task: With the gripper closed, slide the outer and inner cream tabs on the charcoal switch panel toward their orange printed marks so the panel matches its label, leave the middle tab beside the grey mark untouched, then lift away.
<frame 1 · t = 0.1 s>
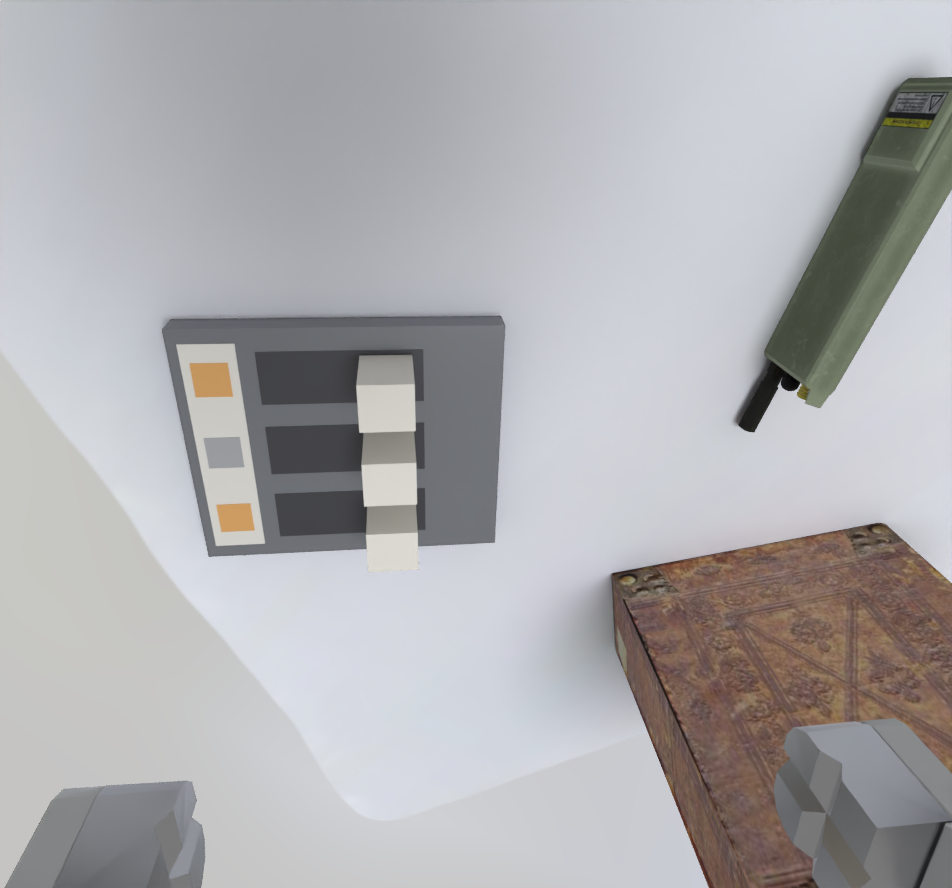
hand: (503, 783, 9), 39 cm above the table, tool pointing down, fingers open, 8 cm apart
switch panel: (348, 435, 49), on the table
handheld radio: (816, 270, 48), on the table
tab middle: (389, 465, 46), point 5 cm above the table, slide at 0.0 cm
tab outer: (392, 531, 48), point 5 cm above the table, slide at 0.0 cm
tab inner: (386, 392, 43), point 5 cm above the table, slide at 0.0 cm
book: (744, 585, 62), on the table
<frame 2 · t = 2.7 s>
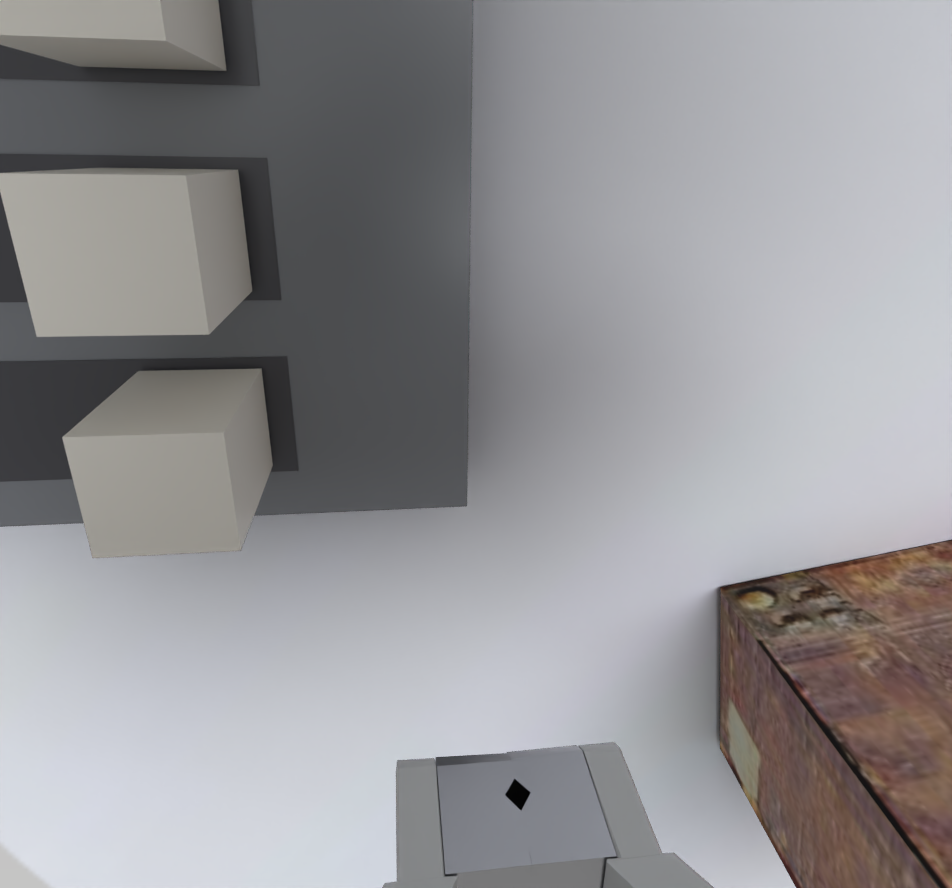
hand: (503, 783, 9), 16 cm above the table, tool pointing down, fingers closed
switch panel: (95, 223, 20), on the table
tab middle: (149, 243, 16), point 5 cm above the table, slide at 0.0 cm
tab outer: (185, 453, 18), point 5 cm above the table, slide at 0.0 cm
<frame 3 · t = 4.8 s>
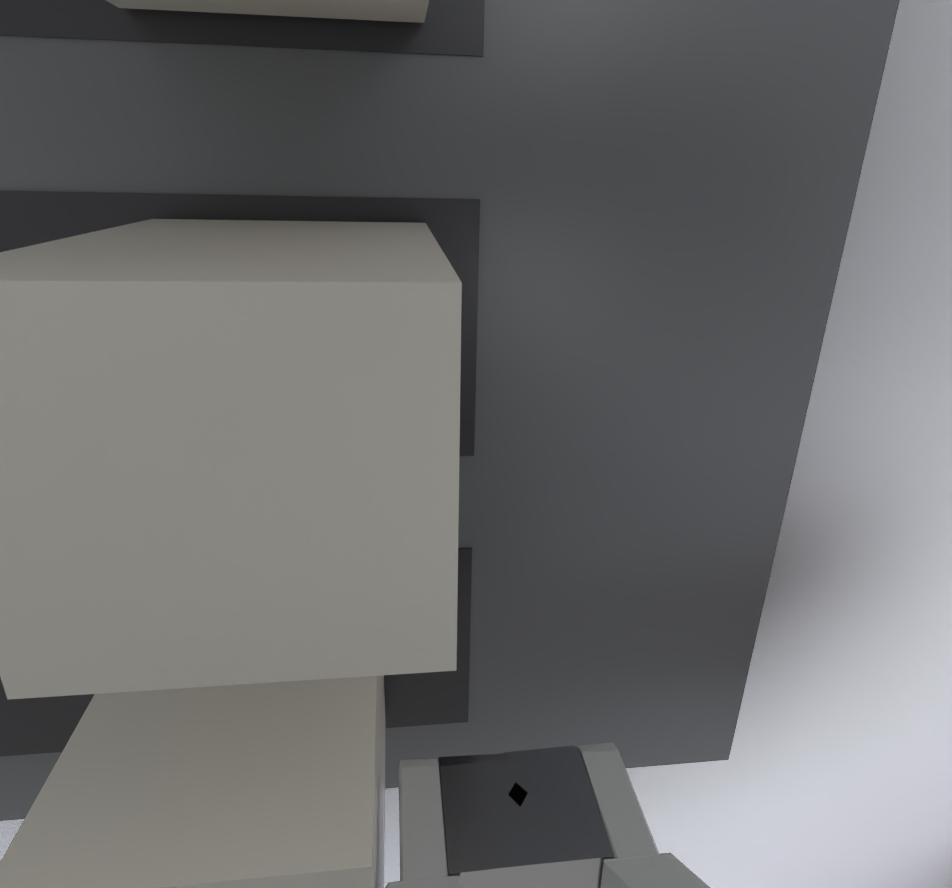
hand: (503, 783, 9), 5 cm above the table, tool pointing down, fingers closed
switch panel: (132, 309, 11), on the table
tab middle: (272, 397, 7), point 5 cm above the table, slide at 0.0 cm
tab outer: (251, 782, 9), point 5 cm above the table, slide at 0.8 cm, touching gripper
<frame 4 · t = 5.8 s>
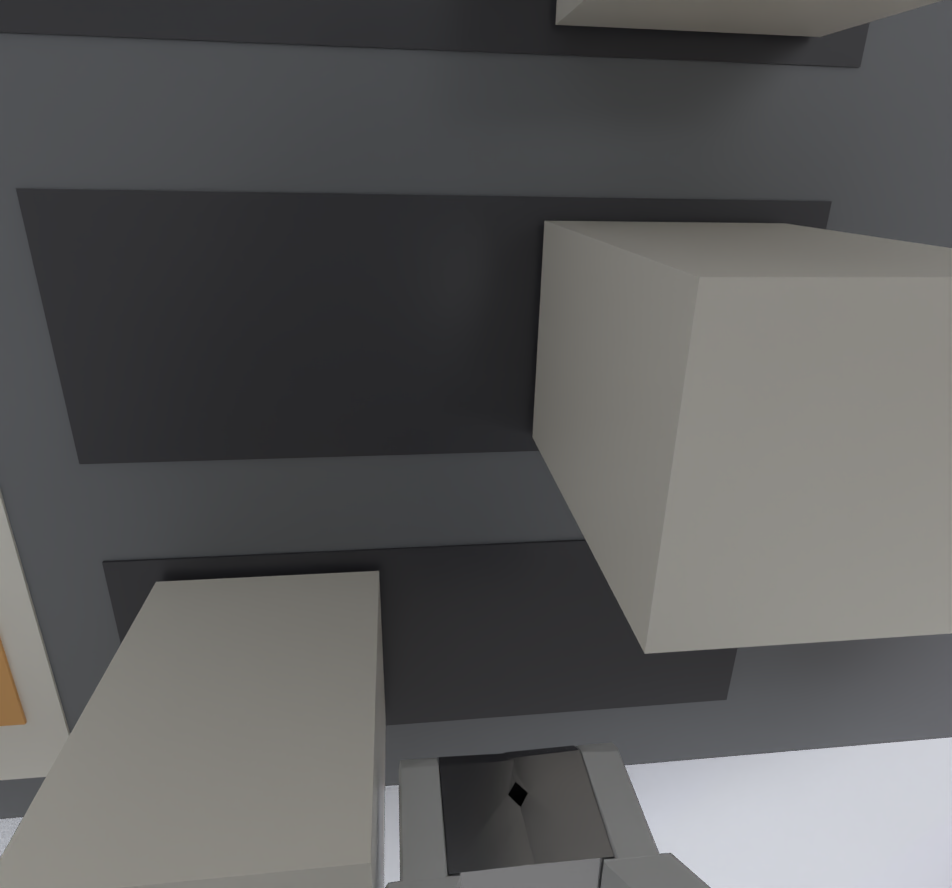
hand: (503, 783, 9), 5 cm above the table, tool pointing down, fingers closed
switch panel: (442, 306, 12), on the table
tab middle: (731, 385, 8), point 5 cm above the table, slide at 0.0 cm
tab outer: (250, 779, 9), point 5 cm above the table, slide at 5.9 cm, touching gripper
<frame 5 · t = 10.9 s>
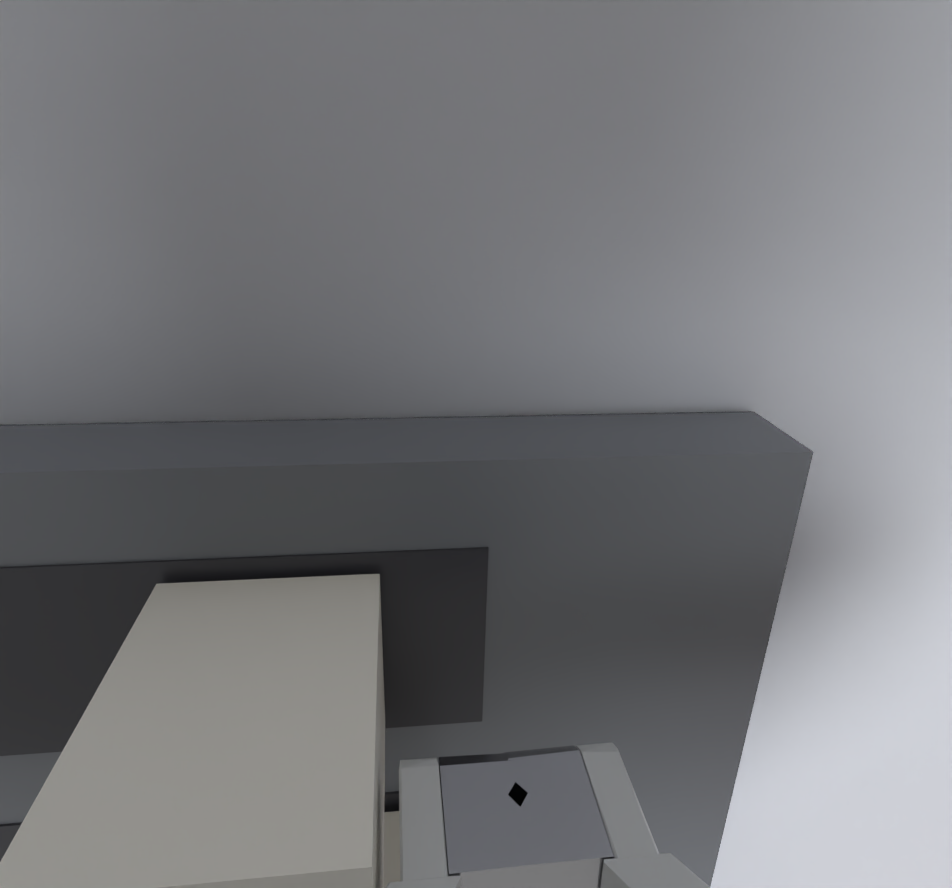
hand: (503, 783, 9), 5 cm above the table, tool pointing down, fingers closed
switch panel: (228, 790, 15), on the table
tab inner: (250, 782, 9), point 5 cm above the table, slide at 1.1 cm, touching gripper
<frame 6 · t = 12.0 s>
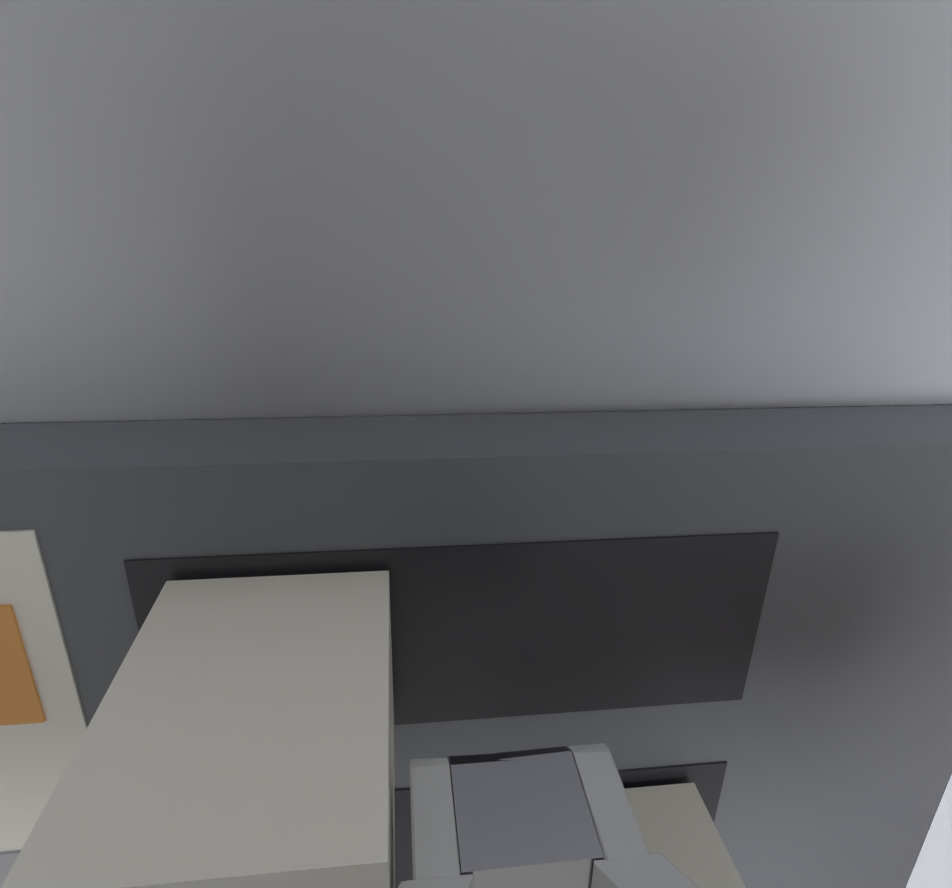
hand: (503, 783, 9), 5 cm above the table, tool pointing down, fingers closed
switch panel: (455, 769, 16), on the table
tab inner: (262, 778, 9), point 5 cm above the table, slide at 6.1 cm, touching gripper
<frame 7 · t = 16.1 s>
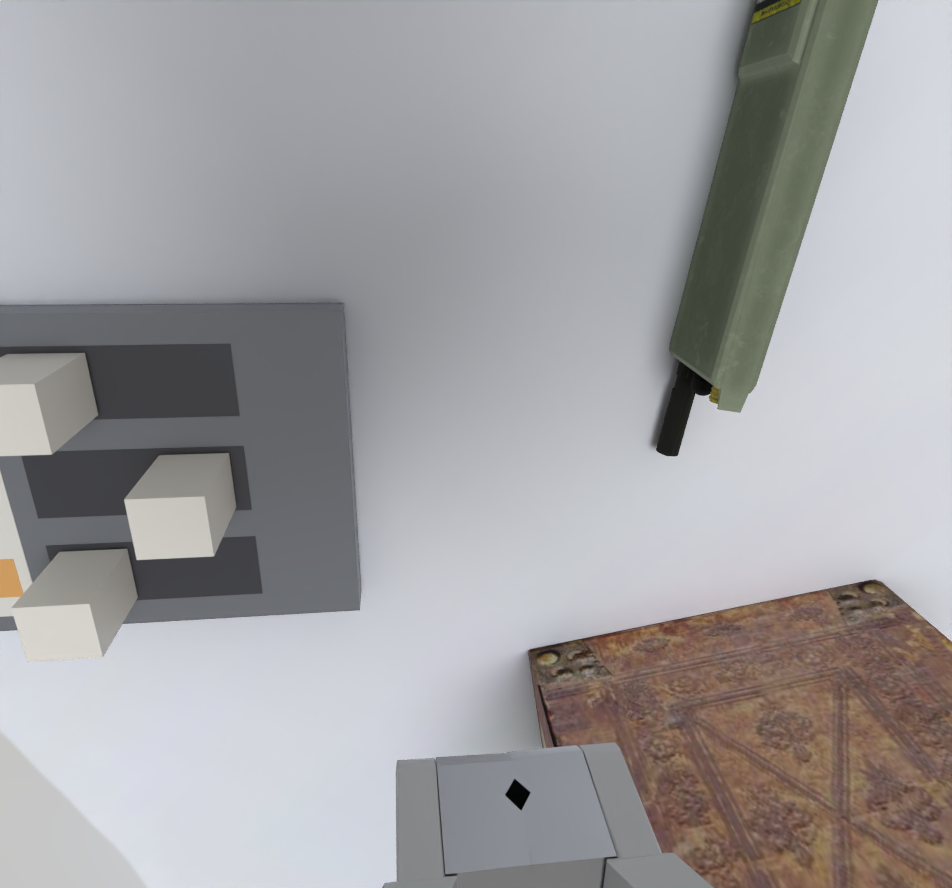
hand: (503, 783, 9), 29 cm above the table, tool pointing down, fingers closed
switch panel: (153, 466, 37), on the table
handheld radio: (714, 233, 36), on the table
tab middle: (185, 503, 33), point 5 cm above the table, slide at 0.0 cm
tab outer: (80, 602, 35), point 5 cm above the table, slide at 6.1 cm
tab inner: (28, 401, 30), point 5 cm above the table, slide at 6.1 cm
book: (704, 663, 48), on the table
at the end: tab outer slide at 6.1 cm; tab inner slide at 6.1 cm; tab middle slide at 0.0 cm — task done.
